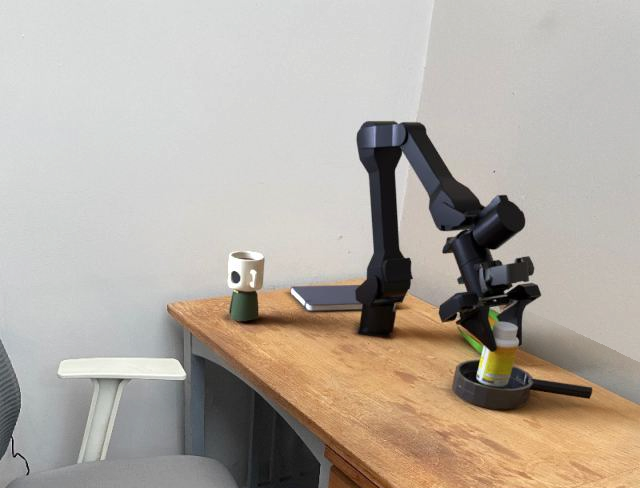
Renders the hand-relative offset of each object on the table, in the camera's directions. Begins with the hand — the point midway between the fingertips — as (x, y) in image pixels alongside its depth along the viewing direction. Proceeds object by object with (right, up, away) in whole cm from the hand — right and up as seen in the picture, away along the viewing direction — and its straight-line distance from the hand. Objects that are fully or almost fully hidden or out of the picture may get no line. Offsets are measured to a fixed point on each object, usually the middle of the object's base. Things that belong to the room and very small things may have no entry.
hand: (506, 348), depth 131 cm
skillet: (-1, -7, +6) cm, 9 cm away
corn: (+3, +6, +26) cm, 27 cm away
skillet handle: (+10, -7, +3) cm, 13 cm away
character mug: (-45, +12, +31) cm, 56 cm away
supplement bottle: (-1, -5, +5) cm, 7 cm away
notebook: (-23, +20, +45) cm, 54 cm away
